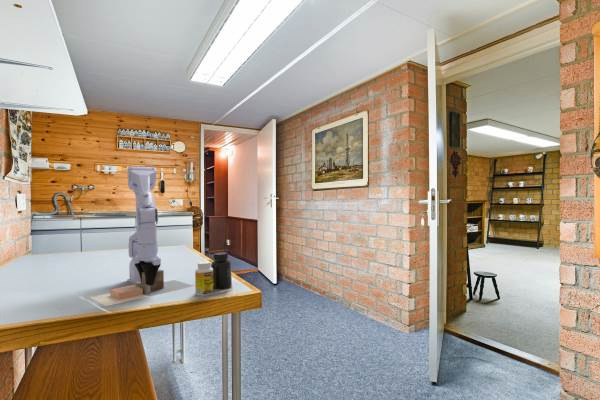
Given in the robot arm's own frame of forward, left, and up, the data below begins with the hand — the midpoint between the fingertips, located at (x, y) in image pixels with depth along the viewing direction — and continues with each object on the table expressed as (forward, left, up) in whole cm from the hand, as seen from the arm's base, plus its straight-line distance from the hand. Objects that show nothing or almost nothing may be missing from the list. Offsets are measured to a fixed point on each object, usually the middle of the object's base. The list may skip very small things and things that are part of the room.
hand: (147, 284), depth 107 cm
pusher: (0, +2, -2) cm, 3 cm away
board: (0, -1, -2) cm, 3 cm away
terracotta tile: (0, -7, -2) cm, 7 cm away
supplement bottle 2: (+16, +18, -3) cm, 24 cm away
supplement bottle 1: (+18, +10, -3) cm, 21 cm away
